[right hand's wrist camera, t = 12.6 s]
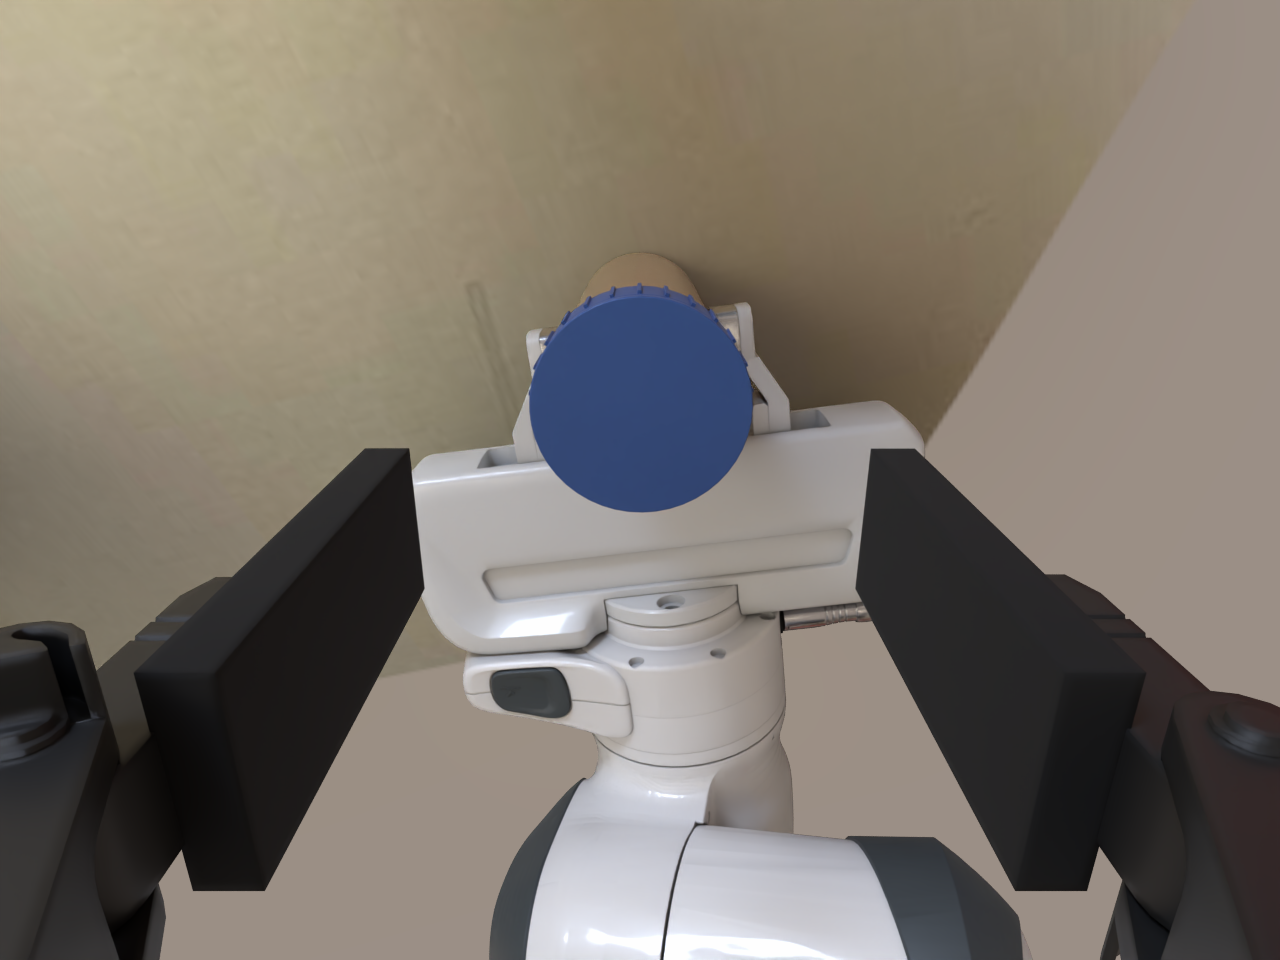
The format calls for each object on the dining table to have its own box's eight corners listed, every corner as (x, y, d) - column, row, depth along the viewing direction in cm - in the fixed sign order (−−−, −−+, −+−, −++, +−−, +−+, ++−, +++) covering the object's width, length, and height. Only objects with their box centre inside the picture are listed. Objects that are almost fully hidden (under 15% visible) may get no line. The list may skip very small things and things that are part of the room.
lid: (749, 280, 21) (760, 291, 19) (741, 485, 23) (751, 514, 21) (529, 283, 21) (518, 294, 19) (543, 488, 23) (533, 517, 21)
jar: (700, 251, 34) (745, 301, 20) (699, 372, 36) (738, 497, 22) (578, 253, 34) (533, 304, 20) (582, 373, 36) (545, 500, 22)
